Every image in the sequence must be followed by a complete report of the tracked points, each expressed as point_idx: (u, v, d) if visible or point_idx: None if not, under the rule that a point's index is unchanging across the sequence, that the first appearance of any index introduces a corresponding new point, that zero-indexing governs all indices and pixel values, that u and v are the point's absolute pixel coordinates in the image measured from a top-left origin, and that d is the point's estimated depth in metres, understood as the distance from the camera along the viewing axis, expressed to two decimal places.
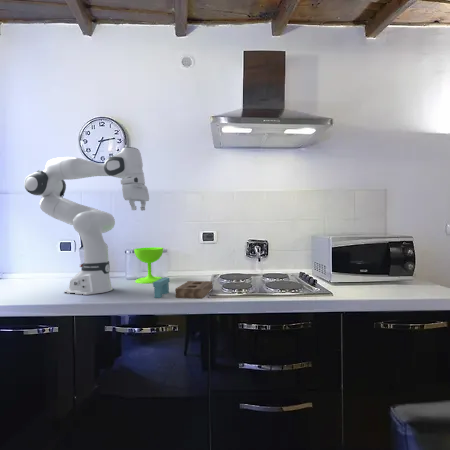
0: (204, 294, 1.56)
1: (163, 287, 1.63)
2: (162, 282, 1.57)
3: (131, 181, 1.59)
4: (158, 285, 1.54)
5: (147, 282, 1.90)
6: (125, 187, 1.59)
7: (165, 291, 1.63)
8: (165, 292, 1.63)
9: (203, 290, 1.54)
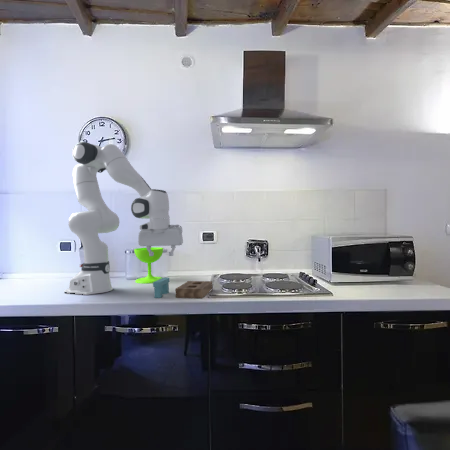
0: (204, 294, 1.56)
1: (163, 287, 1.63)
2: (162, 282, 1.57)
3: None
4: (158, 285, 1.54)
5: (147, 282, 1.90)
6: None
7: (165, 291, 1.63)
8: (165, 292, 1.63)
9: (203, 290, 1.54)
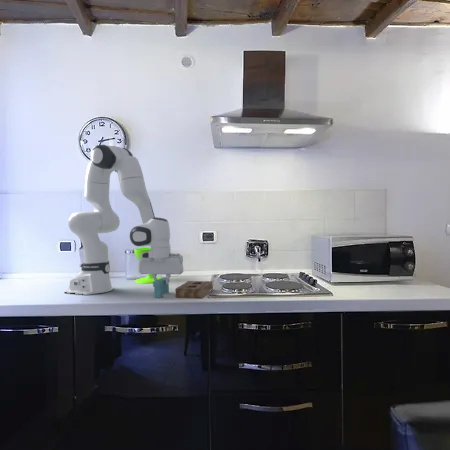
0: (204, 294, 1.56)
1: (163, 287, 1.63)
2: (162, 282, 1.57)
3: None
4: (158, 285, 1.54)
5: (147, 282, 1.90)
6: None
7: (165, 291, 1.63)
8: (165, 292, 1.63)
9: (203, 290, 1.54)
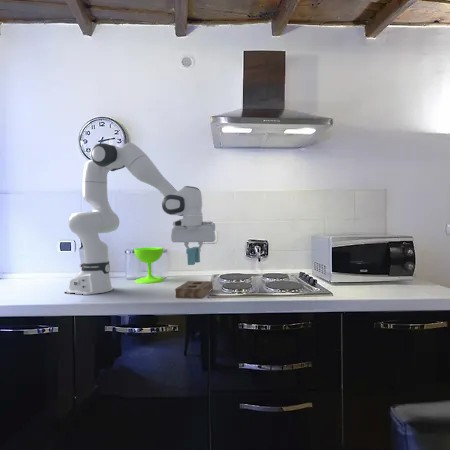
0: (204, 294, 1.56)
1: (195, 256, 1.65)
2: (195, 250, 1.59)
3: None
4: (191, 252, 1.56)
5: (147, 282, 1.90)
6: None
7: (197, 260, 1.64)
8: (197, 261, 1.64)
9: (203, 290, 1.54)
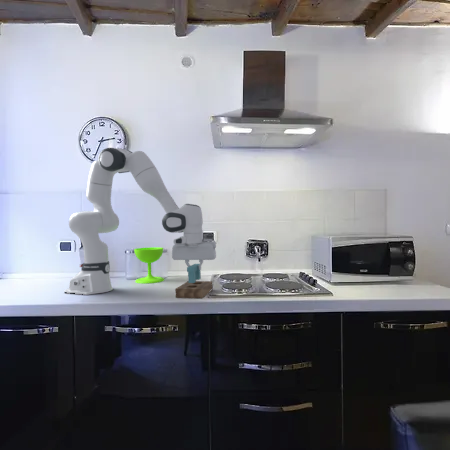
0: (204, 294, 1.56)
1: (195, 273, 1.65)
2: (195, 267, 1.59)
3: None
4: (192, 270, 1.56)
5: (147, 282, 1.90)
6: None
7: (197, 277, 1.64)
8: (197, 278, 1.64)
9: (203, 290, 1.54)
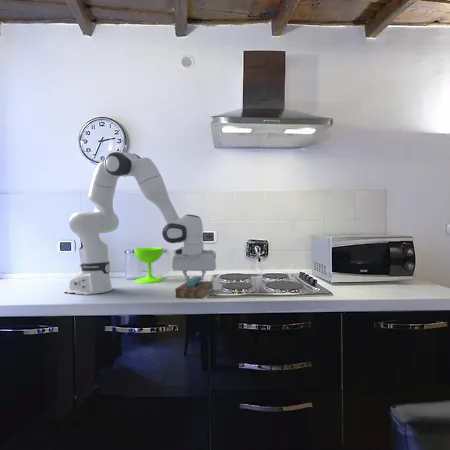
0: (204, 294, 1.56)
1: None
2: (195, 280, 1.59)
3: None
4: (192, 283, 1.56)
5: (147, 282, 1.90)
6: None
7: None
8: None
9: (203, 290, 1.54)
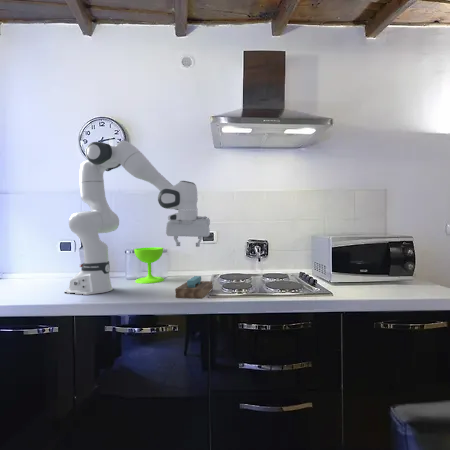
0: (204, 294, 1.56)
1: None
2: (195, 280, 1.59)
3: None
4: (192, 283, 1.56)
5: (147, 282, 1.90)
6: None
7: None
8: None
9: (203, 290, 1.54)
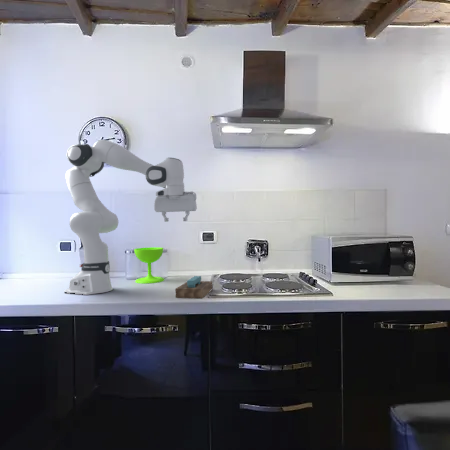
0: (204, 294, 1.56)
1: None
2: (195, 280, 1.59)
3: None
4: (192, 283, 1.56)
5: (147, 282, 1.90)
6: None
7: None
8: None
9: (203, 290, 1.54)
